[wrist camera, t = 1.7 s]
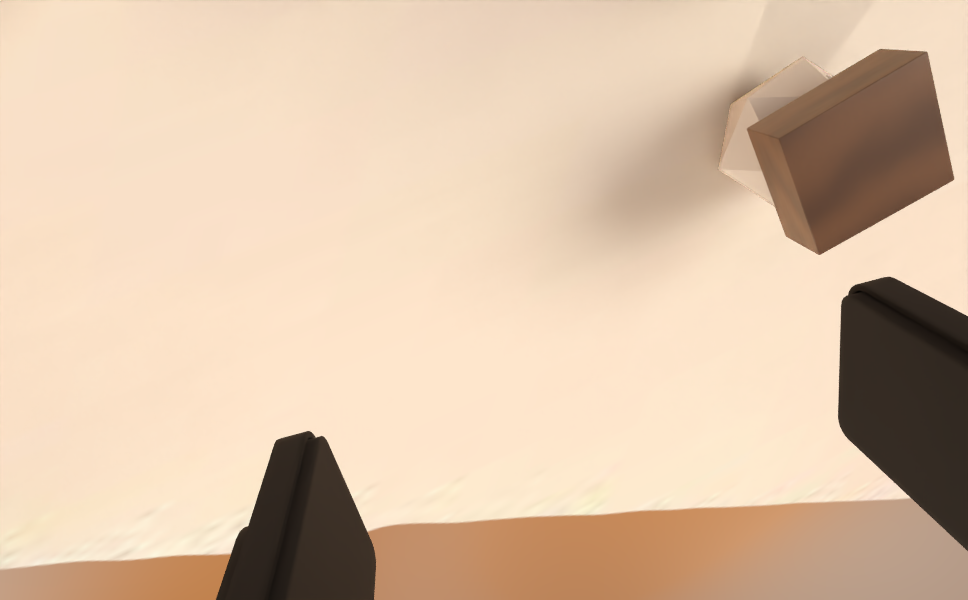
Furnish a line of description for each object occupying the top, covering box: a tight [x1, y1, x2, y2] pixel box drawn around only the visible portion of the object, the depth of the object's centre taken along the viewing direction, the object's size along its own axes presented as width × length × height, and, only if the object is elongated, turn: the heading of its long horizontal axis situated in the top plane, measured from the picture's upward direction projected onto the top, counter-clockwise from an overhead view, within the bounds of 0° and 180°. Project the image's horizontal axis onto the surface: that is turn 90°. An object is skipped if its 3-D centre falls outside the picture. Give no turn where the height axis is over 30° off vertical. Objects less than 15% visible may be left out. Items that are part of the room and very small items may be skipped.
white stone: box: [718, 57, 834, 207], centre depth 40 cm, size 8×9×10 cm
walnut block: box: [747, 49, 954, 255], centre depth 35 cm, size 8×8×4 cm
